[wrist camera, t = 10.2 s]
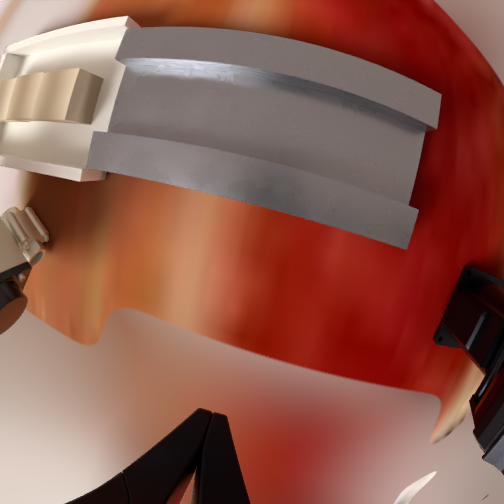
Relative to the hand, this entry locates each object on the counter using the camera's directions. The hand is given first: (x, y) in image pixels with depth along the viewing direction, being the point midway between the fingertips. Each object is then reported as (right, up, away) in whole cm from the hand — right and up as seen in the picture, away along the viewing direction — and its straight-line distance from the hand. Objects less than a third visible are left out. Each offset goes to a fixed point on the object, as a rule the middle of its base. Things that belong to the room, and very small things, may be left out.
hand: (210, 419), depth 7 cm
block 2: (-16, +17, +9) cm, 25 cm away
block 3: (-12, +16, +9) cm, 22 cm away
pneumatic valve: (-19, +6, +13) cm, 24 cm away
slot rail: (+2, +13, +9) cm, 16 cm away
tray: (-16, +18, +10) cm, 25 cm away
